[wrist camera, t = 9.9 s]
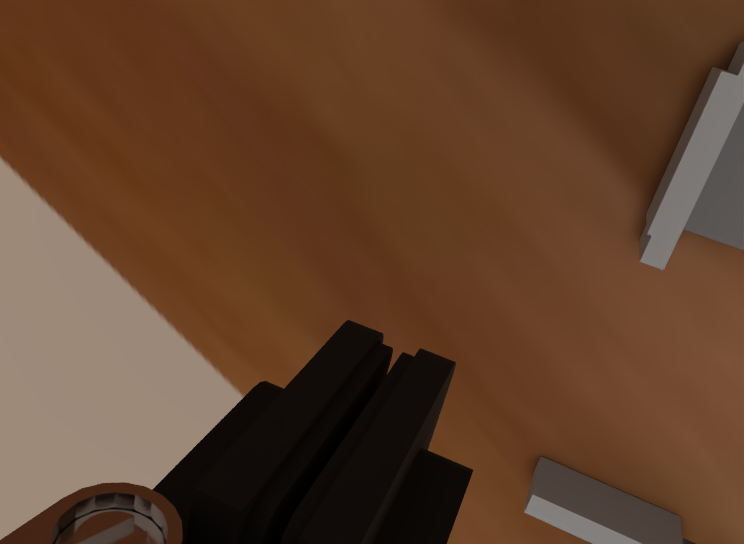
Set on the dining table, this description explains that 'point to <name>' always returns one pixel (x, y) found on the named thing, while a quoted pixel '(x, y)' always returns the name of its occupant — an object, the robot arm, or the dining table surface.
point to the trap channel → (663, 228)
